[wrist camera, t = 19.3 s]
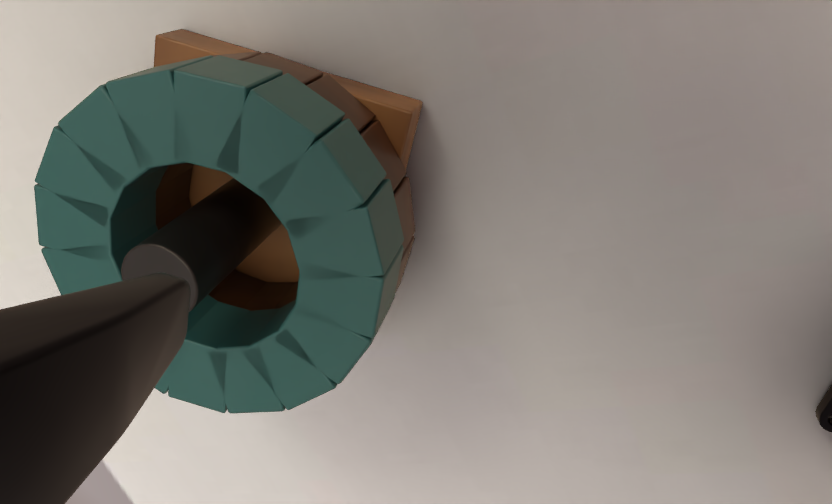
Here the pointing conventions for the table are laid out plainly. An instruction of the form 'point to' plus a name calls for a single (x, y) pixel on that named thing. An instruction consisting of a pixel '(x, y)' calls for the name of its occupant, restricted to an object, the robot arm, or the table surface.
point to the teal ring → (267, 177)
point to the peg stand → (241, 197)
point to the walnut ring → (178, 176)
